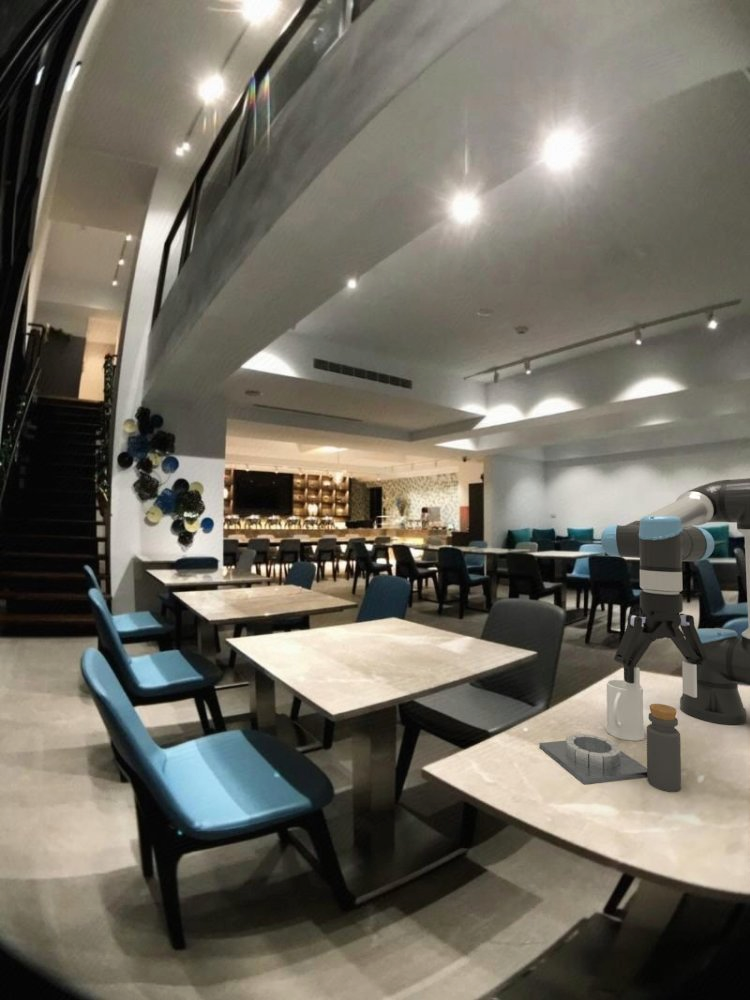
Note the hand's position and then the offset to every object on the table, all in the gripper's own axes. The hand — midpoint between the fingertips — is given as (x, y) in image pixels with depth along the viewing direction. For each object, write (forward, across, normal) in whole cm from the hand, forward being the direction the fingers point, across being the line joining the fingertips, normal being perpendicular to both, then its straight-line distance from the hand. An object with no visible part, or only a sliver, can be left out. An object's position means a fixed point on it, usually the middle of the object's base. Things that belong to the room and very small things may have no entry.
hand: (661, 697), depth 97 cm
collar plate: (+17, +8, -11) cm, 22 cm away
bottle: (+17, 0, 0) cm, 17 cm away
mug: (+17, -8, -21) cm, 28 cm away
